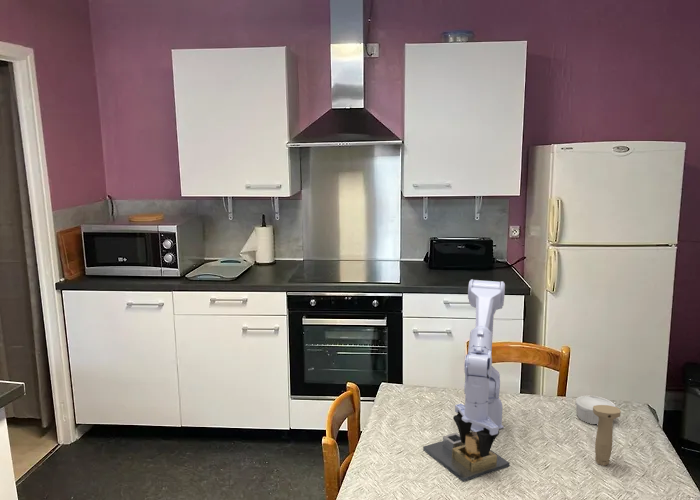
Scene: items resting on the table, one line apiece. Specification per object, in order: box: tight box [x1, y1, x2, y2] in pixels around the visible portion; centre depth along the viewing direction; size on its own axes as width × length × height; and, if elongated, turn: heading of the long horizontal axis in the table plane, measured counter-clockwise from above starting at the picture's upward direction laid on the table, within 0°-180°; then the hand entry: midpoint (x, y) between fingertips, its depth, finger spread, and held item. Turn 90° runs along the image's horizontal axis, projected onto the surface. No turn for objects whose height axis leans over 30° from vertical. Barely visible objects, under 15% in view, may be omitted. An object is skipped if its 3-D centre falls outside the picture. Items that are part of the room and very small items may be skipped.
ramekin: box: [574, 394, 617, 425], centre depth 172 cm, size 11×11×5 cm
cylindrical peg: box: [465, 431, 482, 460], centre depth 146 cm, size 4×4×7 cm
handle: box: [593, 405, 622, 467], centre depth 146 cm, size 5×6×15 cm
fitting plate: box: [422, 432, 511, 483], centre depth 150 cm, size 15×17×4 cm
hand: (474, 448), depth 146 cm, fingers open, 7 cm apart
